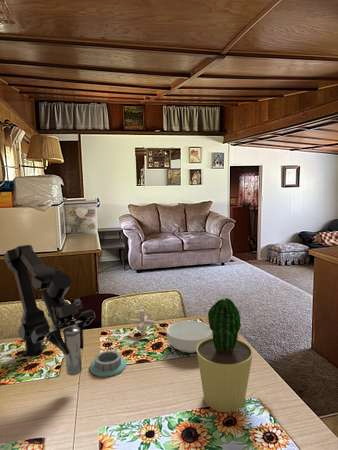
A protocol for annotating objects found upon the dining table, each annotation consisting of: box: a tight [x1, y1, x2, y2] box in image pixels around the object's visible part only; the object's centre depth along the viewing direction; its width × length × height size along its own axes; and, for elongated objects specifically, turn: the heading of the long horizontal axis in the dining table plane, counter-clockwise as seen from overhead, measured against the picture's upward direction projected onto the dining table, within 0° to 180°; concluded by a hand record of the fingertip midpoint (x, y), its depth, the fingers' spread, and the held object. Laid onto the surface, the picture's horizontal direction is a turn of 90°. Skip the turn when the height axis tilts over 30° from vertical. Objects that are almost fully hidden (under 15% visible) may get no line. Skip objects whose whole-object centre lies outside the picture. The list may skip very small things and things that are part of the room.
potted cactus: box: [196, 297, 254, 413], centre depth 92 cm, size 15×15×30 cm
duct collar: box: [89, 350, 127, 378], centre depth 112 cm, size 12×12×3 cm
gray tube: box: [62, 326, 83, 376], centre depth 98 cm, size 5×5×13 cm
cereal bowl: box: [166, 320, 213, 354], centre depth 123 cm, size 17×17×7 cm
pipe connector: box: [129, 309, 156, 336], centre depth 134 cm, size 10×10×10 cm
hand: (75, 351), depth 97 cm, fingers closed on gray tube, 4 cm apart
